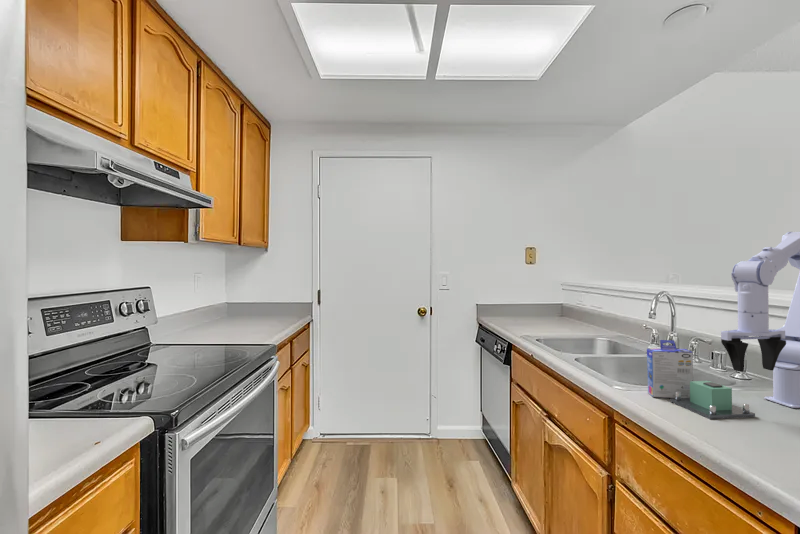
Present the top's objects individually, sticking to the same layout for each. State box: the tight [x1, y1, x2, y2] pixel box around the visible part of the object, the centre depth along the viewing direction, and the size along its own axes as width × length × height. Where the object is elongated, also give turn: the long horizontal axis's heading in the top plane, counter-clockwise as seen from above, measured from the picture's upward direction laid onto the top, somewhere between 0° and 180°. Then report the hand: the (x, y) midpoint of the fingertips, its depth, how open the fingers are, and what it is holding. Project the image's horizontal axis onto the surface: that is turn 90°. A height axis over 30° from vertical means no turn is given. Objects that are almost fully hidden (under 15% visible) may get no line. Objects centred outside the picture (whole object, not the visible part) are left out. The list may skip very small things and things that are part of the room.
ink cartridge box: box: [646, 339, 694, 399], centre depth 121 cm, size 10×6×14 cm, turn 78°
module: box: [690, 380, 733, 410], centre depth 109 cm, size 5×7×5 cm
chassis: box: [670, 392, 756, 420], centre depth 109 cm, size 11×13×3 cm
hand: (753, 370), depth 107 cm, fingers open, 7 cm apart
